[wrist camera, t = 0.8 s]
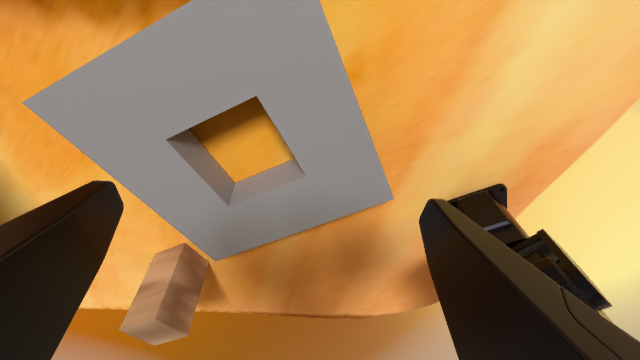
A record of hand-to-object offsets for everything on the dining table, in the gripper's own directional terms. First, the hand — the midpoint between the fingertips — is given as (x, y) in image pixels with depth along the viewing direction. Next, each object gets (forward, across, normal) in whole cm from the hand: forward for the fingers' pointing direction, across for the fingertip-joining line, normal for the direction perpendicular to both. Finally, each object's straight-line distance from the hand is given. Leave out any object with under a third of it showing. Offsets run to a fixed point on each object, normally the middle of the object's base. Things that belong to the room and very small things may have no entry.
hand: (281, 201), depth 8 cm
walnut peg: (+14, +11, +22) cm, 28 cm away
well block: (+14, +3, +6) cm, 15 cm away
